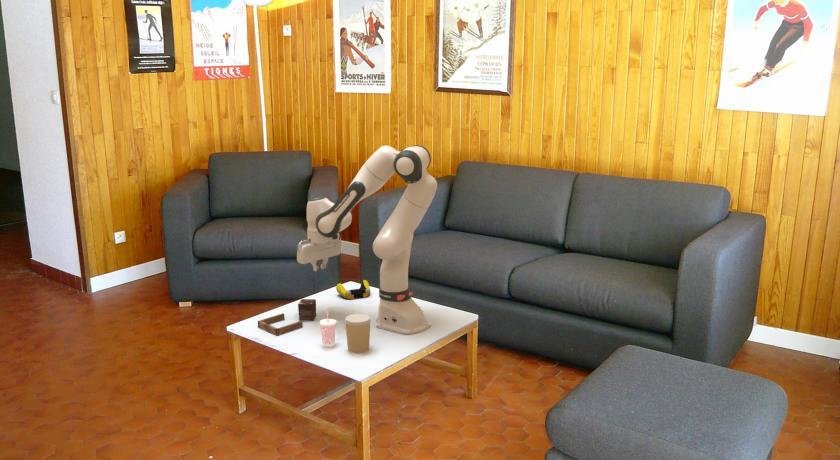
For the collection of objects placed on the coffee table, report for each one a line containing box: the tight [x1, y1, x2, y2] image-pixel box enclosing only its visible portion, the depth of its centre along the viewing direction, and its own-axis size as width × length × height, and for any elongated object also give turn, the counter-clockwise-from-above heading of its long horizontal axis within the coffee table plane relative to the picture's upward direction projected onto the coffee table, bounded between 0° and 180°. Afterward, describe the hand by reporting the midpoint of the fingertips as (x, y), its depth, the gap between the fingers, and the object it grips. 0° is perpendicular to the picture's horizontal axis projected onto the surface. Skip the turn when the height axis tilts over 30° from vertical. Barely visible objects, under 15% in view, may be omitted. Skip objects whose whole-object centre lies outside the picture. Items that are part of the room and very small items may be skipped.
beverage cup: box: [319, 308, 337, 348], centre depth 270 cm, size 6×6×14 cm
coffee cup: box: [344, 313, 372, 354], centre depth 267 cm, size 9×9×12 cm
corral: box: [257, 313, 303, 336], centre depth 288 cm, size 13×12×2 cm
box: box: [297, 298, 317, 322], centre depth 297 cm, size 6×6×7 cm
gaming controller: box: [335, 279, 371, 300], centre depth 324 cm, size 15×6×10 cm
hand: (319, 269), depth 298 cm, fingers open, 2 cm apart
